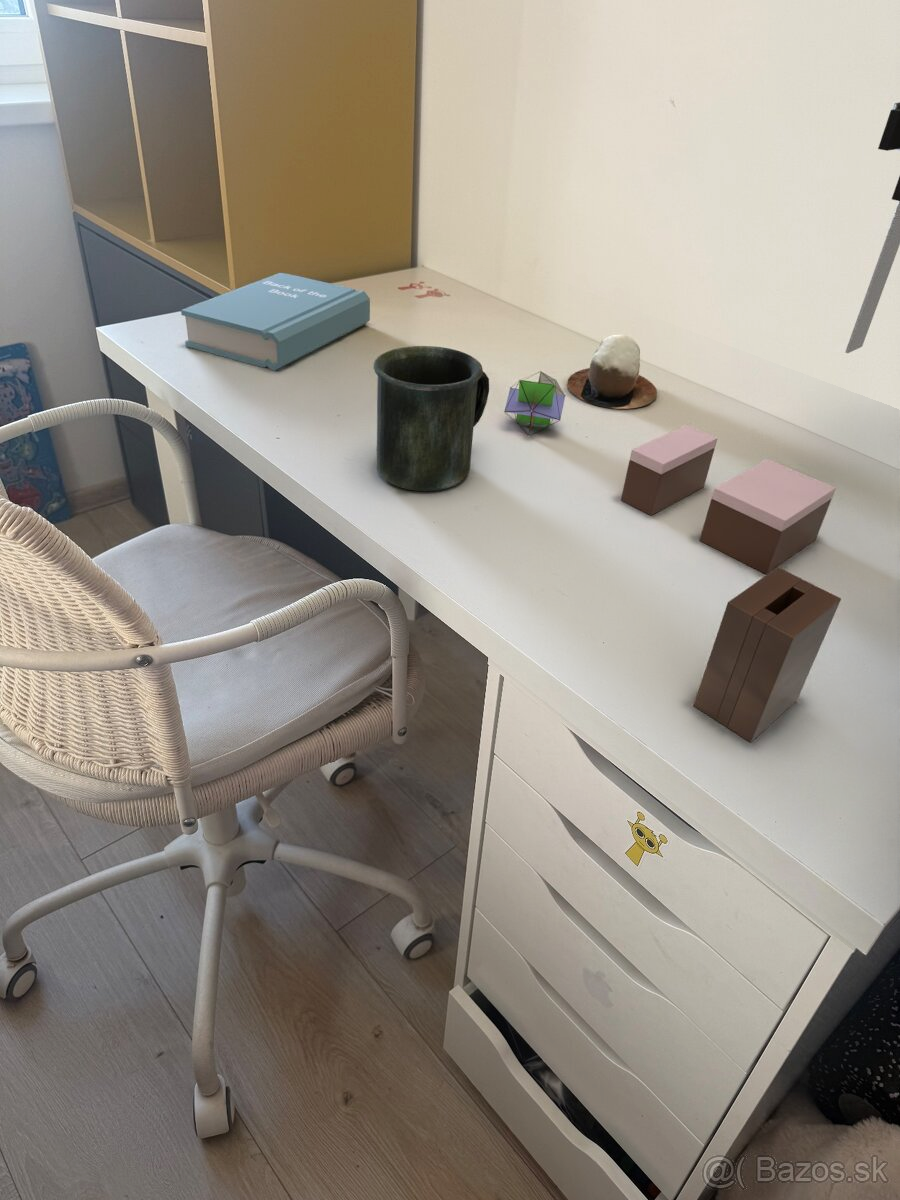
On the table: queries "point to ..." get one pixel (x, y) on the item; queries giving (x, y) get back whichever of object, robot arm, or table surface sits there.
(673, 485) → the cake slice
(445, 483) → the mug
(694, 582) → the table surface
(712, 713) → the knife block
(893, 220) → the knife
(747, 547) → the cake
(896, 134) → the robot arm
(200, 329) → the book
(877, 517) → the table surface
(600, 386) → the hat
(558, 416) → the geometric puzzle
